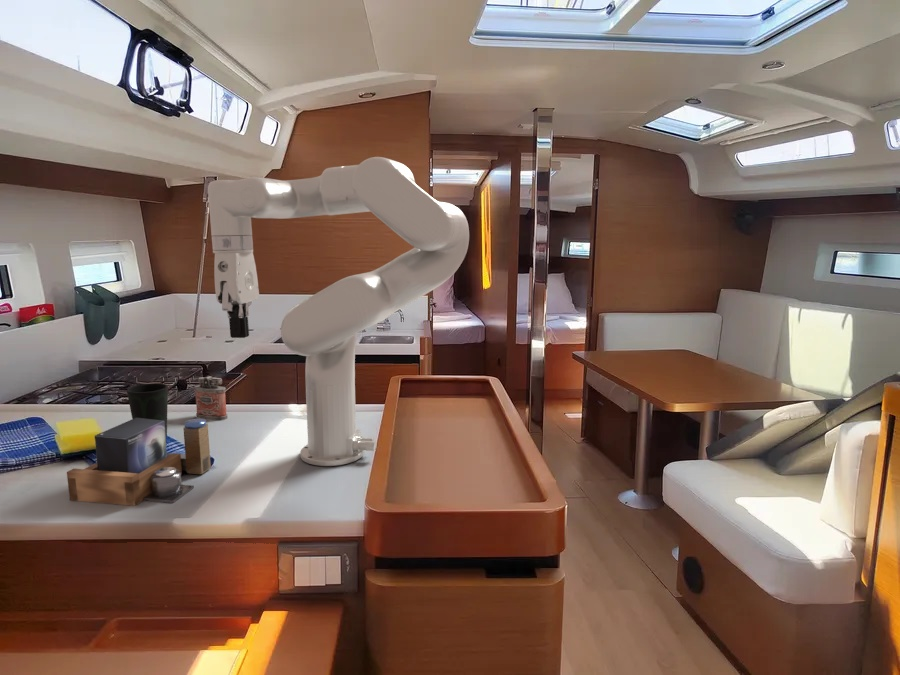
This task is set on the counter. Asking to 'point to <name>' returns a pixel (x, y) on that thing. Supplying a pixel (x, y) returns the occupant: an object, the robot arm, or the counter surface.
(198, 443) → the container
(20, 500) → the counter surface
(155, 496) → the drum
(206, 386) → the lighter
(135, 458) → the small box
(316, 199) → the robot arm
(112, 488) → the bay
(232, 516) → the counter surface
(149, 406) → the cup
